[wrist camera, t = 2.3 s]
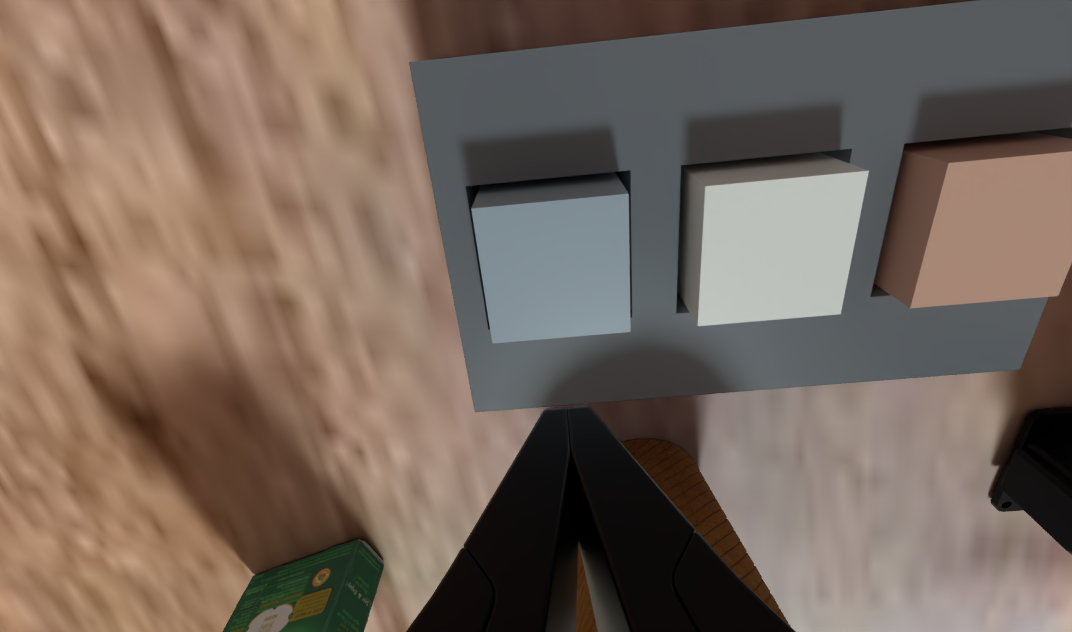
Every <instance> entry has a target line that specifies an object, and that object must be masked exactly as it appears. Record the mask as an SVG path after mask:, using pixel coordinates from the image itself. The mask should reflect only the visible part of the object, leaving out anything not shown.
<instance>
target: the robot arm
mask: <svg viewBox="0 0 1072 632" xmlns="http://www.w3.org/2000/svg"><path fill="white" fill-rule="evenodd" d="M991 504H992V505H993V506H994V507H995V508H996V509H997V510H999V511H1003V512H1005V511H1020V510H1024V511H1025V512H1026V513H1027V514H1028V515H1029V516H1031V517H1032V518H1033V519H1034V520H1035V521H1036V522H1037V523H1038V524H1039V525H1040V526H1041V527H1042V528H1043V529H1044V530H1045V531H1046V532H1047V533H1049V534H1050V535H1051V536H1052V537H1053V538H1054V539H1055V540H1056V541H1057V542H1058V543H1059V544H1060V545H1061V546H1062V547H1063V548H1064V549H1065V550H1067V551H1068V552H1069V553H1070V554H1072V407H1066V408H1053V409H1040V410H1035V411H1033V412H1031V413H1030V414H1029V415H1028V416H1027V417H1026V419H1025V421H1024V424H1023V426H1022V428H1021V431H1020V433H1019V435H1018V438H1017V440H1016V442H1015V445H1014V447H1013V449H1012V452H1011V454H1010V456H1009V459H1008V461H1007V463H1006V466H1005V468H1004V470H1003V473H1002V475H1001V477H1000V480H999V482H998V484H997V487H996V489H995V492H994V494H993V496H992V499H991ZM578 541H579V546H580V551H581V556H582V560H583V565H584V570H585V574H586V579H587V584H588V588H589V593H590V598H591V602H592V607H593V612H594V616H595V621H596V626H597V630H598V632H796V631H794V630H793V629H792V628H791V627H790V626H789V625H788V624H787V623H786V622H785V621H784V620H783V619H782V618H780V617H779V616H778V615H777V614H776V613H775V612H774V611H773V610H772V609H771V608H770V607H769V606H768V605H767V604H766V603H765V602H764V601H763V600H762V599H761V598H760V597H758V596H757V595H756V594H755V593H754V592H753V591H752V590H751V589H750V588H749V587H748V586H747V585H746V584H745V583H744V582H743V581H742V580H741V579H740V578H739V577H738V576H737V575H736V574H735V573H734V571H733V570H732V569H731V568H730V567H729V566H728V565H727V564H726V563H725V562H724V561H723V560H722V558H721V557H720V556H719V555H718V554H717V553H716V552H715V551H714V550H713V548H712V547H711V546H710V545H709V544H708V543H707V541H706V540H705V539H704V538H703V537H702V536H701V534H700V533H698V532H696V530H695V528H694V527H693V525H692V524H691V523H690V522H689V521H688V520H687V519H686V517H685V516H684V515H683V514H682V513H681V512H680V510H679V509H678V508H677V507H676V506H675V505H674V503H673V502H672V501H671V500H670V499H669V498H668V496H667V495H666V494H665V493H664V492H663V491H662V490H661V488H660V487H659V486H658V485H657V484H656V483H655V481H654V480H653V479H652V478H651V477H650V476H649V474H648V473H647V472H646V471H645V470H644V469H643V467H642V466H641V465H640V464H639V463H638V462H637V461H636V459H635V458H634V457H633V456H632V455H631V454H630V452H629V451H628V450H627V449H626V448H625V447H624V445H623V444H622V443H621V442H620V441H619V440H618V439H617V437H616V436H615V435H614V434H613V433H612V432H611V430H610V429H609V428H608V427H607V426H606V425H605V423H604V422H603V421H602V420H601V419H600V418H599V416H598V415H597V414H596V413H595V412H594V411H593V410H592V408H591V407H589V406H577V407H569V408H567V409H566V408H552V409H545V410H544V411H543V413H542V414H541V416H540V418H539V419H538V421H537V423H536V424H535V426H534V428H533V429H532V431H531V433H530V434H529V436H528V438H527V439H526V441H525V443H524V444H523V446H522V448H521V449H520V451H519V453H518V455H517V456H516V458H515V460H514V461H513V463H512V465H511V466H510V468H509V470H508V471H507V473H506V475H505V476H504V478H503V480H502V481H501V483H500V485H499V486H498V488H497V490H496V491H495V493H494V495H493V497H492V498H491V500H490V502H489V503H488V505H487V507H486V508H485V510H484V512H483V513H482V515H481V517H480V518H479V520H478V522H477V523H476V525H475V527H474V528H473V530H472V532H471V533H470V535H469V537H468V538H467V540H466V542H465V544H464V548H462V549H461V550H460V551H459V553H458V555H457V557H456V558H455V560H454V562H453V563H452V565H451V567H450V568H449V570H448V572H447V573H446V575H445V576H444V578H443V579H442V581H441V582H440V584H439V586H438V587H437V589H436V590H435V592H434V593H433V595H432V597H431V598H430V599H429V601H428V602H427V604H426V605H425V606H424V608H423V609H422V610H421V612H420V613H419V615H418V616H417V617H416V619H415V620H414V621H413V623H412V624H411V626H410V627H409V628H408V630H407V631H406V632H575V631H576V603H577V575H578Z"/></svg>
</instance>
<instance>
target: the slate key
mask: <svg viewBox="0 0 1072 632" xmlns="http://www.w3.org/2000/svg"><path fill="white" fill-rule="evenodd" d="M471 210H472V216H473V223H474V229H475V235H476V242H477V248H478V255H479V261H480V267H481V274H482V280H483V287H484V293H485V299H486V306H487V312H488V319H489V325H490V331H491V338H492V343H504V342H516V341H528V340H540V339H552V338H564V337H576V336H588V335H599V334H611V333H623V332H631V326H630V253H629V193H628V192H627V190H626V189H625V187H624V186H623V184H622V182H621V181H620V179H619V178H618V176H617V175H616V173H615V172H607V173H597V174H587V175H577V176H566V177H556V178H546V179H536V180H525V181H515V182H505V183H495V184H484V185H481V186H480V188H479V191H478V193H477V196H476V198H475V201H474V203H473V206H472V208H471Z"/></svg>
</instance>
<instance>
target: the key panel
mask: <svg viewBox="0 0 1072 632" xmlns="http://www.w3.org/2000/svg"><path fill="white" fill-rule="evenodd" d="M409 65H410V70H411V75H412V81H413V86H414V91H415V97H416V102H417V107H418V112H419V118H420V123H421V128H422V134H423V139H424V144H425V150H426V155H427V160H428V166H429V171H430V176H431V182H432V187H433V192H434V198H435V203H436V208H437V214H438V219H439V224H440V229H441V235H442V240H443V245H444V251H445V256H446V261H447V267H448V272H449V277H450V283H451V288H452V293H453V299H454V304H455V309H456V315H457V320H458V325H459V331H460V336H461V341H462V346H463V352H464V357H465V362H466V368H467V373H468V378H469V384H470V389H471V394H472V400H473V405H474V410H475V412H484V411H497V410H510V409H523V408H535V407H548V406H561V405H574V404H586V403H599V402H612V401H625V400H637V399H650V398H663V397H676V396H689V395H701V394H714V393H727V392H740V391H752V390H765V389H778V388H791V387H803V386H816V385H829V384H842V383H855V382H867V381H880V380H893V379H906V378H918V377H931V376H944V375H957V374H970V373H982V372H995V371H1008V370H1020V368H1021V365H1022V363H1023V360H1024V358H1025V355H1026V353H1027V350H1028V348H1029V345H1030V343H1031V340H1032V338H1033V335H1034V333H1035V330H1036V328H1037V325H1038V323H1039V320H1040V318H1041V315H1042V313H1043V310H1044V308H1045V305H1046V303H1047V300H1048V298H1049V297H1040V298H1028V299H1016V300H1004V301H992V302H981V303H969V304H957V305H945V306H933V307H921V308H909V307H907V306H906V305H905V304H903V303H902V302H900V301H899V300H897V299H896V298H894V297H893V296H892V295H890V294H889V293H887V292H886V291H884V290H883V289H881V288H880V287H879V286H877V285H876V284H874V278H875V274H876V269H877V265H878V260H879V256H880V251H881V247H882V242H883V238H884V233H885V229H886V224H887V220H888V215H889V211H890V206H891V202H892V197H893V193H894V188H895V184H896V179H897V175H898V171H899V166H900V162H901V157H902V153H903V148H904V144H905V143H915V142H926V141H936V140H946V139H956V138H967V137H977V136H987V135H997V134H1008V133H1018V132H1034V133H1040V134H1046V135H1052V136H1058V137H1064V138H1070V139H1072V0H977V1H968V2H958V3H949V4H940V5H931V6H922V7H912V8H903V9H894V10H885V11H875V12H866V13H857V14H848V15H839V16H829V17H820V18H811V19H802V20H793V21H783V22H774V23H765V24H756V25H746V26H737V27H728V28H719V29H710V30H700V31H691V32H682V33H673V34H663V35H654V36H645V37H636V38H627V39H617V40H608V41H599V42H590V43H580V44H571V45H562V46H553V47H544V48H534V49H525V50H516V51H507V52H497V53H488V54H479V55H470V56H461V57H451V58H442V59H433V60H424V61H415V62H409ZM813 152H819V153H822V154H825V155H827V156H830V157H833V158H836V159H838V160H841V161H844V162H847V163H849V164H852V165H855V166H858V167H860V168H863V169H866V170H869V173H868V178H867V183H866V188H865V193H864V199H863V204H862V209H861V214H860V219H859V224H858V229H857V234H856V239H855V244H854V249H853V254H852V259H851V264H850V270H849V275H848V280H847V285H846V290H845V295H844V300H843V305H842V310H841V314H838V315H826V316H814V317H802V318H790V319H778V320H766V321H754V322H742V323H730V324H719V325H707V326H697V324H696V323H695V321H694V319H693V317H692V316H691V314H690V312H689V311H688V309H687V307H686V305H685V304H684V302H683V300H682V299H681V297H680V295H679V293H678V292H677V273H678V243H679V212H680V181H681V165H690V164H700V163H710V162H720V161H731V160H741V159H751V158H761V157H772V156H782V155H792V154H802V153H813ZM607 172H615V173H616V175H617V176H618V178H619V179H620V181H621V182H622V184H623V186H624V187H625V189H626V190H627V192H628V193H629V253H630V326H631V332H623V333H611V334H599V335H588V336H576V337H564V338H552V339H540V340H528V341H516V342H504V343H492V338H491V331H490V325H489V319H488V312H487V306H486V299H485V293H484V287H483V280H482V274H481V267H480V261H479V255H478V248H477V242H476V235H475V229H474V223H473V216H472V210H471V208H472V206H473V203H474V201H475V198H476V196H477V193H478V191H479V188H480V186H481V185H484V184H495V183H505V182H515V181H525V180H536V179H546V178H556V177H566V176H577V175H587V174H597V173H607Z"/></svg>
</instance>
